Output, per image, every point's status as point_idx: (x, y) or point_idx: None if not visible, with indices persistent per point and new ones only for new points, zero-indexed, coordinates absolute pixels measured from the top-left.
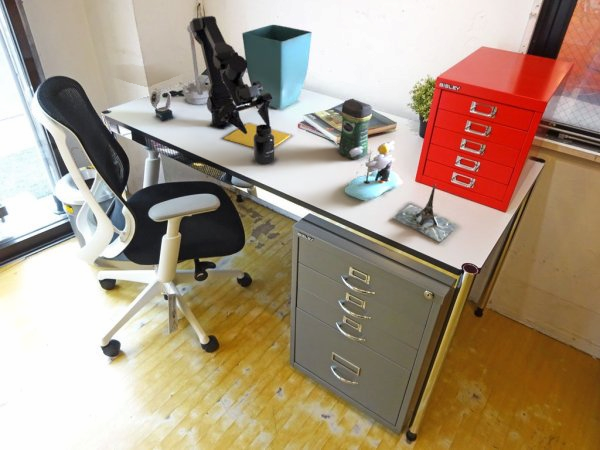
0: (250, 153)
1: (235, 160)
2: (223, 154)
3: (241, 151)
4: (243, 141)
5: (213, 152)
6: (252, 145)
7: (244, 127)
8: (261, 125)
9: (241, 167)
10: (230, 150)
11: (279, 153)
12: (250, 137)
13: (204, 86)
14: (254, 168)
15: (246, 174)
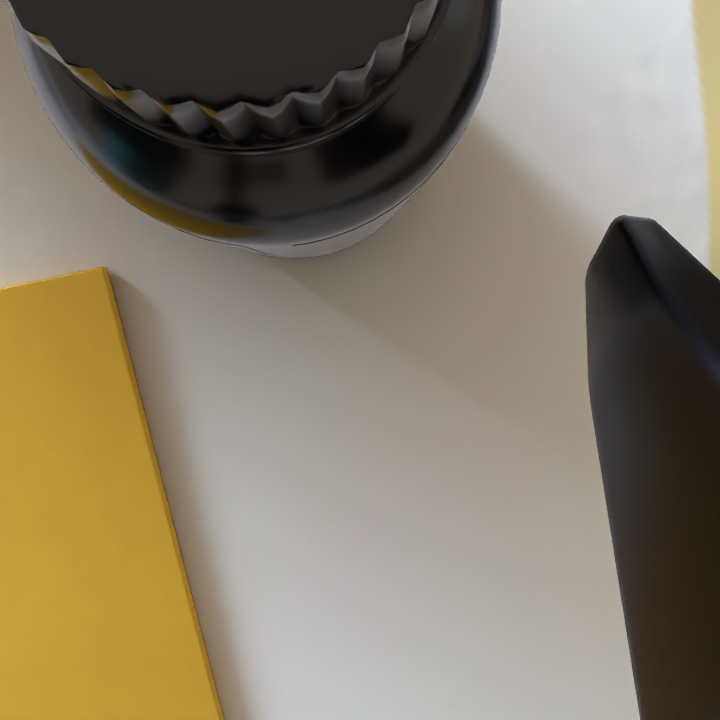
0: (293, 397)
1: (541, 393)
2: (537, 603)
3: (338, 514)
4: (158, 681)
5: (583, 716)
6: (147, 520)
7: (706, 308)
8: (163, 6)
9: (609, 210)
10: (414, 623)
11: (13, 122)
12: (15, 705)
13: None
14: (520, 72)
15: (686, 36)
